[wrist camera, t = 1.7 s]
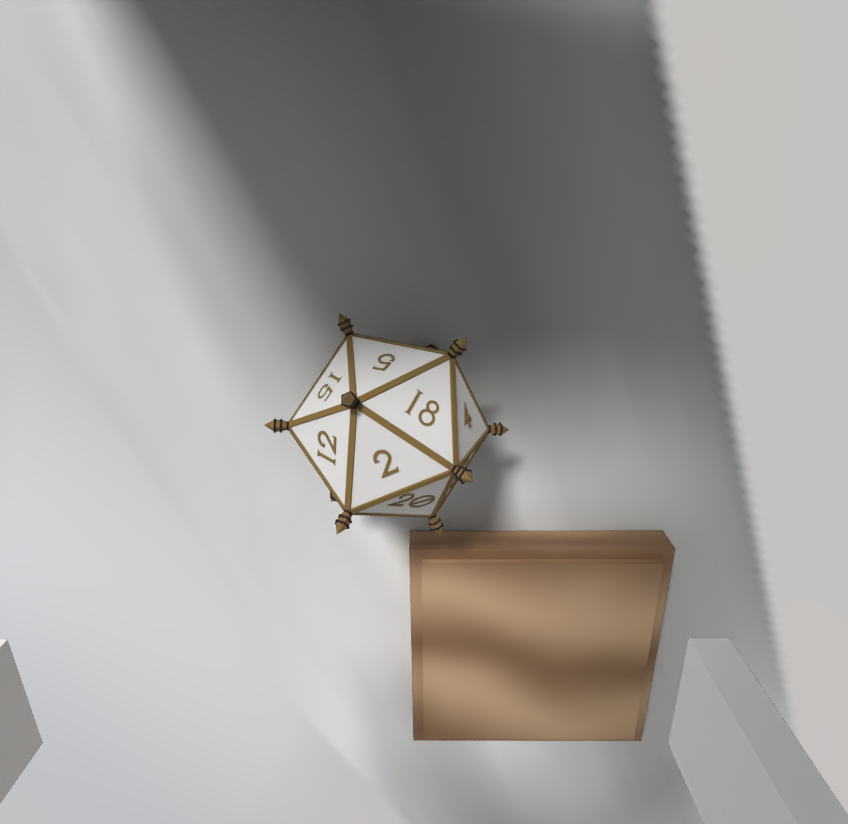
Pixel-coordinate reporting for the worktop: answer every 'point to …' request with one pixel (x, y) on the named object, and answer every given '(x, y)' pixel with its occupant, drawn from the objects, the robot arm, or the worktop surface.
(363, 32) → the worktop surface
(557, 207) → the worktop surface
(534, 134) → the worktop surface
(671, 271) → the worktop surface
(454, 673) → the plate
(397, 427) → the game die
